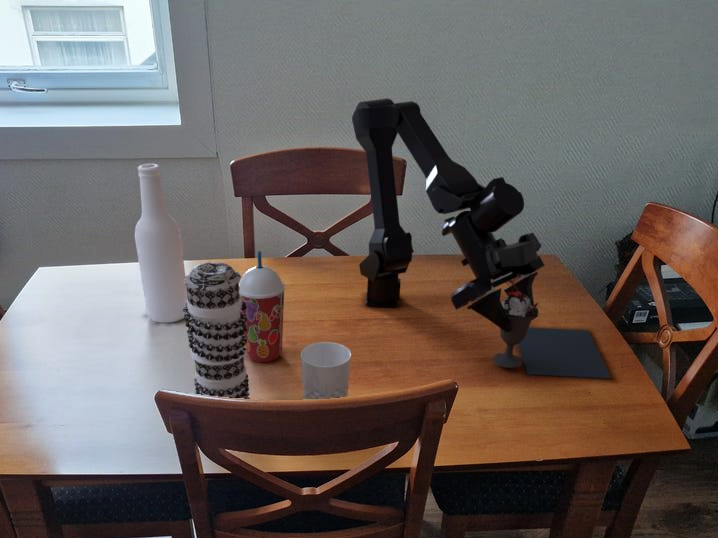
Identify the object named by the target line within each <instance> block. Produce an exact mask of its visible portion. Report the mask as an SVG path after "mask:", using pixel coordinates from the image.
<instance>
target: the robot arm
mask: <svg viewBox="0 0 718 538" xmlns="http://www.w3.org/2000/svg"><path fill="white" fill-rule="evenodd" d="M351 122H352V125H353V129H354V130H353V131H354V135H355V139H356V141H357V142H358V144H359V145H360V146H361V148H362V149H363V151H364V152H365V155H366V165H367V173H368V181H369V182H368V183H369V190H370V198H371V206H372V207H371V208H372V215H373V216H372V218H373V224H374V229H373V232H372V234H371V236H370V239H369V242H368V255H367V256H366V257H365V258H364V259H363V260H362V261H361V262H360V263H359V264H358V265H359V272H360V275H361V276H363V277H364V278H366V279H367V286H366V287H367V289H366V297H365V306H366V307H377V308H379V307H380V308H397V306H398V302H400V297H401V295H400V294H401V284H402V283H401V278H400V277H399V275H401V274H406V273H407V271H408V268H409V266H410V263H411V262H412V260H413V254H414V252H415V251H414V248H413V236H412V234H411V232H406V231H405V230H404V228H403V227H402V225H401V223H400V214H399V213H400V212H399V205H398V204H399V203H398V194H397V186H396V185H397V184H396V176H395V166H394V156H393V146H394V144H395V141H396V139H397V136H398V135H399V137H400V138H401V141H402V142H403V143H404V146H405V147H406V148H407V150H408V151H409V153H410V155H411V156H412V158H413V160H414V161H415V163H416V164H417V166H418V168H419V169H420V170H421V173H422V174H423V175H424V178H425V180H426V181H425V192H426V194H427V197H428V199H429V201H430V203H431V205H432V207H433V209H434V211H435V212H436V213H438V214H440V215H441V214H443V215H447V214H451V213H455V212H459V213H458V214H457V215H456V216H451V217H448V218H446V219H444V224H443V227H442V229H441V235H442V236H443V237H445V236H448V235H450V234H451V235H452V236H453V238H454V240H455V242H456V243H457V245H458V248H459V249H460V251H461V253H462V255H463V257H464V258H463V259H462V260H461V261H460V263H461V264H462V266H463V267H465V266H469V268H470V270H471V272H472V273H473V275H474V277H475V278H474V279H472V280H470V281H468V282H466V283H465V284H464V285H462V286H461V287H459V288H457V289H456V290H454V291H453V292H451V298H450V301H451V303H452V305H453V307H454V309H455V310H456V311H457V310H459V309H461V308H463V307H466V306H467V305H468V306H467V307H466V309H467V310H468V311H469V310H472V311H474V312H475V313H477V314H479V315H480V316H482V317H484V318H485V319H487V320H488V321H490V322H491V323H492V324H494V325H495V326H496V327H498V328H499V329H500V328H501V329H502V330H504V331H505V332H507V333H508V332H510V331H512V326H511V324H510V321H509V319H508V317H507V315H506V312H505V310H504V308H503V306H502V304H501V303H502V302H501V297H502V295H501V294H502V288H501V287H500V288H498V289H496V290H495V288H497V287H499V286H501V285H504V284H506V285H507V288H505V289H503V292H504V293H505V294H506V295H507V296H508V293H509V292H511V291H512V290H513V285H514V284H515V285H516V287H517V290H518V291H520V292H521V294H524V295H526V296H527V297H528V298H529V299H530V305H533V306H534V305H535V302H534V294H533V283H534V281H535V278H536V276H538V274H539V272H538V270H541V269H542V268H544V267H545V263H544V261H543V260H542V257H541V256H540V255H538V252H539V251H540V249H541V248H542V243H540V241H539V239H538V237H537V236H536V235H535V233H534V232H528V233H524V234H521V235H519V237H518V242H515V243H511V244H507V243H506V241H505V239H503V238H497V239H496V237H495V235H494V233H495V232H497V231H498V230H500V229H502V228H503V227H504V226H505V225H507V224H508V223H509V222H510V221H512V220H514V219H515V218H516V217H517V216H519V215H520V214H521V213H522V212H523V210H524V208H525V200H524V196H523V194H522V192H521V191H519V190H518V189H517V188H516V187H515V186H514V185H512V184H510V183H507V182H506V180H505V178H504V176H499V177H496V178H492V179H491V181H489V182H488V183H487V185H486V186H484V185H482V184H480V183H478V181H477V179H476V178H475V176H473V174H472V173H471V172H470V171H469V170H468V169H467V168H466V167H464V166H463V165H461V164H460V163H457V162H456V161H454V160H453V159H451V157H450V156H449V154H448V153H447V152H446V150H445V148H444V147H443V145H442V144H441V142H440V141H439V139H438V137H437V135H435V133H434V131H433V130H432V128H431V127H430V126H429V124H428V122H427V121H426V119H425V117H424V116H423V115H422V113H421V108H420V105H419V104H418V103H417V102H415V101H412V100H409V101H402V102H396V103H394V101H393V100H392V99H390V98H380V99H372V100H364V101H360V102H358V103H357V104H356V106H355V108H354V110H353V111H352V114H351ZM460 211H461V212H460ZM509 280H513V283H514V284H513V283H512V282H511V283H512V284H513V285H512V284H511V283H510V282H509ZM515 285H514V290H513V292H517V290H516V287H515ZM469 303H471V304H469ZM536 318H537V317H535V318H532V321H534V320H536Z"/></svg>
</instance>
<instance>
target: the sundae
mask: <svg viewBox="0 0 718 538" xmlns="http://www.w3.org/2000/svg"><path fill="white" fill-rule="evenodd" d="M509 282H510V283H511V282H512V283H513V280H509ZM512 283H511V284H512ZM513 284H514V283H513ZM513 284H512V285H513ZM514 285H515V284H514ZM514 285H513V290H514ZM515 287H516V285H515ZM513 290H512V291H511V292H509V293H508V295H507V297H506V298H504V300H503V301H502V302H501V304H502V306H503V308H504V310H505V312H506V315H507V317H508V319H509V321H510V324H511V326H512V331H510V332H508V333H507V332H505V331H504V330H502V329H501V328H499V331H500V335H499V336H500V338H501V339H502V341H503V342H504V343H505V344H506V347H505V351H504V352H501V353H496V354H494V356H493V357H492V361H493V362H494V364H496V366H499V367H502V368H506V369H515V368H518V367H520V366H521V365H522V364H523V360H522V358H520V357H519V356H517V355H516V354H514V347H515V346H516V345H518V343H520V342H521V341H523V340H524V338H525V336H526V333H527V331H528V328H530V326H531V322H532V321H533V320H532V318H535V317H536V318H538V317H539V309H538V307H537V306H538V305H539V302H536V303H534V306H533V305H530V299H529V298H528V297H527V296H526V295H524V294H521V292H520V291H518V290H517V287H516V290H517V292H513ZM536 318H535V319H536Z"/></svg>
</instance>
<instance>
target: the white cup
mask: <svg viewBox="0 0 718 538" xmlns="http://www.w3.org/2000/svg"><path fill="white" fill-rule="evenodd" d="M351 364H352V351H351V350H350V348H348V347H347V346H346V345H343V344H341V343H338V342H333V341H319V342H314V343H310V344H309V345H306V346H305V347H304V348H303V349H302V350H301V351H300V365H301V382H302V391H303V400H304V399H330V398H340V397H347V398H348V395H349V388H350V387H349V386H350V379H351V377H350V376H351V368H352V367H351Z"/></svg>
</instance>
